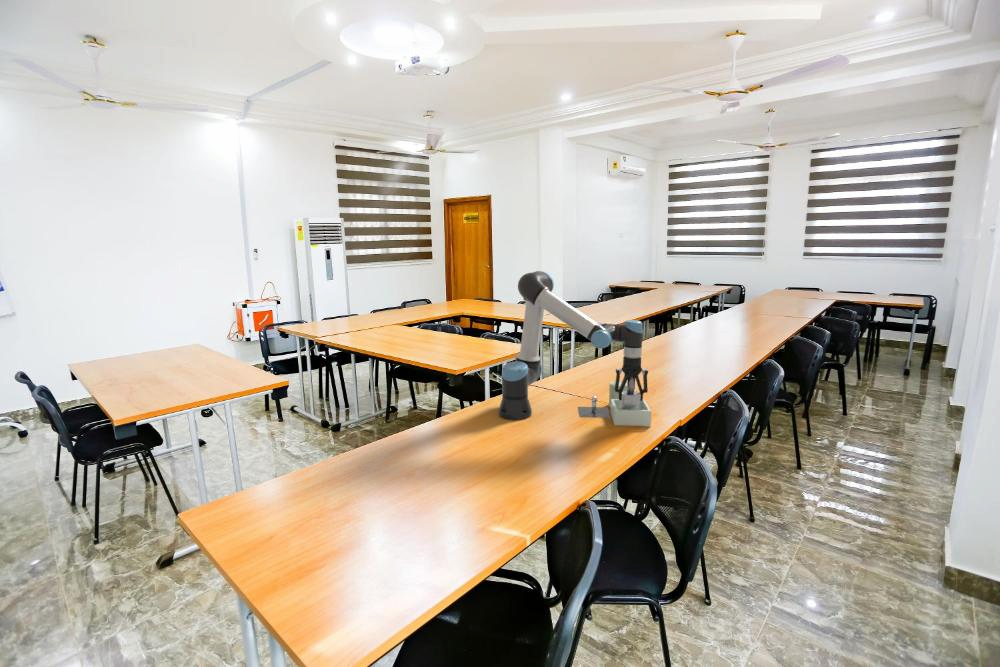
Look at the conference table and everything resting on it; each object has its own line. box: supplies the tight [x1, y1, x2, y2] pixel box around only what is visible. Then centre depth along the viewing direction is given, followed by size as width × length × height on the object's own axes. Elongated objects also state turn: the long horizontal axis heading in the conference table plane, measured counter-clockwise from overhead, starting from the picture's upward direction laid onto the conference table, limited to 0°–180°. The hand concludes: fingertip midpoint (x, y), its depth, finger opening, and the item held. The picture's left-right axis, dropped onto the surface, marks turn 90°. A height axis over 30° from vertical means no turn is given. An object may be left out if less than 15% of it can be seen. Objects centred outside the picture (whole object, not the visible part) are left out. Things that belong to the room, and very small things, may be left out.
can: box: [608, 380, 628, 408], centre depth 235 cm, size 9×9×12 cm
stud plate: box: [577, 395, 612, 419], centre depth 227 cm, size 14×14×8 cm
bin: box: [610, 399, 652, 428], centre depth 218 cm, size 15×15×7 cm
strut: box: [622, 377, 640, 410], centre depth 216 cm, size 6×6×16 cm
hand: (630, 407), depth 217 cm, fingers closed on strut, 6 cm apart
